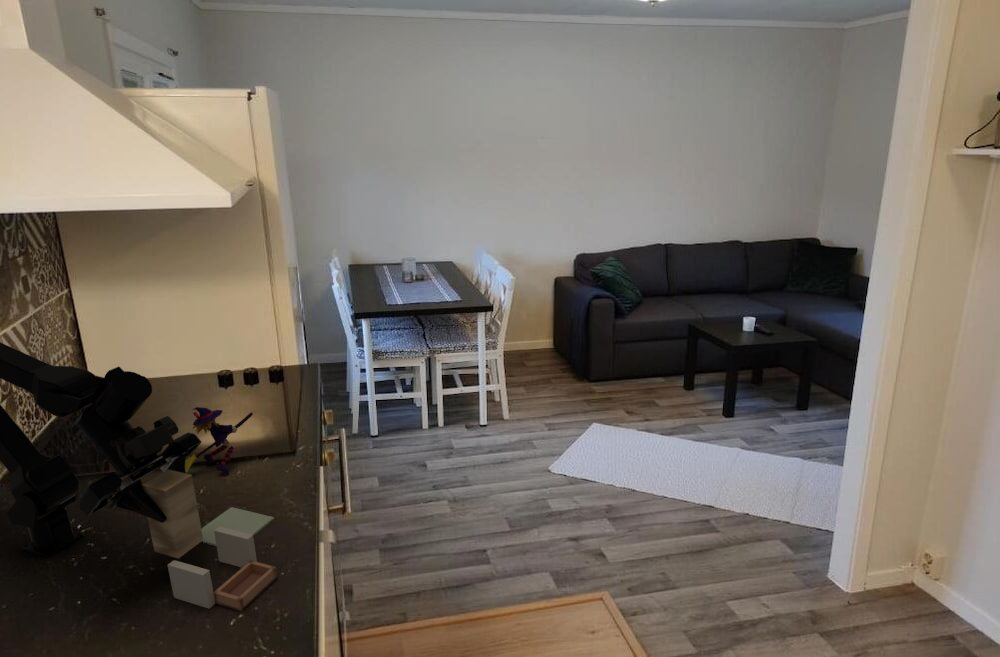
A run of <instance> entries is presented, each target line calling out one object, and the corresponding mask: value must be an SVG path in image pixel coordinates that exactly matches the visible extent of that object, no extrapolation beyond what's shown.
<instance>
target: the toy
mask: <svg viewBox="0 0 1000 657" xmlns="http://www.w3.org/2000/svg"><path fill="white" fill-rule="evenodd" d="M192 410H193V411H194V410H196V411H194V412H192V413H193V415H194V417H195V418H196V419H195V420H194V421H193V423H192V429H195V431H194V432H195V433H196V435H198V434H199V433H200V432H201V431H202V430H203V432H204V434H205V435H207V433H208V432H210V435H211V437H212V439H213V440H214V442H213V443H212V444H211V445H209V446H208V447H206V448H204V449H202V451H200V452H199V453H196V454H195V453H192V455H191V456H190V457H189V458H188V459H187V460H185V471H186V474H188V471H189V469H190V468H191V467H192V465H193V464H194V463H195V462H196V461H198V460H200V458H199V457H201V456H202V455H203V456H202V457H203V459H204V460H205V461H206V462H208V464H210V463H212V464H213V463H214V462H215V460H214V457H215V456H216V455H218V454H220V453H222V452H223V451H225V450H227V451H226V453H225V455H224V457H223V458H222V461H221V463H220V464H218V465H217V467H215V470H217V471H220V472H221V473H224V474H225V473H226V475H229V472H230V470H229V468H227V467H226V466H225V464H226V463H227V462H228V460H229V458H231V455H232V453H234V450H235V448H234V447H233V445H232V444H231V443H230V441H229V440H228V439H227V438H228V436H229V435H231V434H235V433H237V431H238V428H239V427H241V426H242V425H243V424H244V423H245V422H247V421H248V420H249V419H250V418H251V417H253V415H254V412H250V413H248V414H247V415H246V416H245V417H243V418H242V419H241V420H240V421H239V422H237V423H236V424H235V425H233V424H220V423H219V422H218V423H217V422H216V418H218V417H220V416H221V415H222V413H223V411H224V410H222V409H215V410H211V409H209V408H207V407H199V406H196V407H195V408H193V409H192ZM198 413H199V414H198ZM195 433H194V434H195ZM214 446H215V447H216V449H214V450H213V451H212V452H210V453H206V452H207V451H209V450H210V449H212V448H213V447H214Z"/></svg>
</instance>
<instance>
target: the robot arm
mask: <svg viewBox="0 0 1000 657" xmlns="http://www.w3.org/2000/svg"><path fill="white" fill-rule="evenodd" d="M0 379H1V380H2V381H5V382H8V383H10V384H12V385H14V386H15V387H19V389H22V390H25V391H27V392H28V393H29V394H31V395H32V397H33V400H34V402H35V404H36V405H37V406H38V407H40V408H42V409H43V410H45V411H46V412H47V413H49V414H50V415H53V416H54V417H58V418H65V417H67V416H69V415H71V414H73V413H75V412H78V411H81V409H84V408H85V409H84V410H83V412H82V413H81V414H80V415H77V416H74V417H72V419H71V420H72V425H71V428H70V430H71V431H70V432H71V435H72V436H76V435H78V434H81V433H83V434H84V435H85V437H86V438H87V439H88V440H89V442H90V443H92V445H93V446H94V448H96V450H97V451H98V452H99V454H100V455H99V456H98V460H99V461H100V462H101V463H102V464H104V463H106V462H108V464H110V466H111V467H112V468H113V469H114V470H115V472H116V473H117V474H116V473H109V474H107V475H105V476H104V477H101V478H100V479H98V480H96V481H94V482H92V483H90V484H89V485H88V487H87V488H86V490H84V491H85V492H83V494H82V496H81V497H80V498H79V501H78V494H79V485H80V481H79V477H78V476H77V475H76V471H75V470H74V469H73V468H72V467H71V466H70V465H69V464H68V463H67V461H66V459H65V458H64V457H62V456H61V455H59V454H58V455H56V456H54V457H50V456H48V455H45V454H42V453H41V451H39V449H38V448H37V446H35V445H34V443H33V442H32V441H31V439H30V438H29V437H28V436H27V435H26V434H25V433H24V431H23V430H22V429H21V428H20V426H19V425H18V424H17V423H16V422H15V420H14V419H13V418H12V416H11V415H10V414H9V413H8V412H7V410H6V409H5V408H4V407H3V405H2V404H0V462H1V464H2V465H3V466H4V468H6V470H7V471H8V472H9V474H10V492H11V495H12V496H13V498H14V499H15V502H14V503H13V504H12V506H11V507H10V508H9V509H8V511H7V512H6V517H7V518H8V519H9V521H10V523H11V525H15V526H21V527H26V528H27V530H28V533H29V536H30V540H31V541H30V542H27V543H26V544H24V545H23V546H22V549H23V550H24V551H27V552H30V553H33V554H37V555H39V556H42V557H50V556H52V555H53V554H55V553H57V552H59V551H60V550H62V549H63V548H65V547H67V546H69V545H70V544H72V543H73V542H75V541H77V540H78V539H80V538H82V537H83V532H80V531H77V530H73V528H72V523H71V520H70V517H69V514H68V510H67V508H66V507H68V506H70V505H71V504H74V503H76V502H77V501H78V505H79V509H80V510H81V511H82V512H83V514H85V517H91V516H92V515H94V514H95V513H97V512H100V511H101V510H102V509H104V508H106V507H107V505H108V502H109V500H110V502H112V503H111V504H110V505H109V509H110V510H113V509H115V508H119V509H123V510H126V511H130V512H133V513H137V514H139V515H142V516H143V517H147V518H148V517H149V518H151V519H154V520H156V521H159V522H161V523H163V522H165V521H166V520H167V518H166V516H165V515H164V513H163V512H162V510H161V509H160V508H159V507H158V506H157V505H156V504H155V503H154V501H153V500H152V499H151V498H150V497H149V496H148V495H147V494H146V493H145V491H144V489H143V486H142V484H143V483H142V479H143V478H145V477H146V476H148V475H149V474H151V473H154V472H155V471H157V470H161V473H163V472H164V471H166V470H173V471H177V472H181V473H186V471H185V460H187V459H188V458H190V457H192V456H193V454H194V452H195V451H196V450H197V449H198V448H199V446H200V445H201V444H202V440H201V439H200V438H199V437H198V436H197V434H195V433H192V432H186V433H184V434H182V435H180V436H178V437H177V438H175V439H174V438H173V436H174V435H177V434H178V433H179V429H180V428H179V427H178V426H177V424H176V421H174V420H173V419H172V418H171V417H170V416H169V415H166V416H163V417H161V418H159V419H158V420H155V421H153V428H152V429H149V430H147V431H146V430H145V429H144V428H143V427H141V426H140V425H139V426H137V427H135V428H134V426H133V425H132V424H131V423H130V422H129V420H132V419H133V417H134V416H135V415H136V414H137V413H138V411H139V410H140V409H141V408H142V407H143V405H144V404H145V403H146V401H148V399H149V398H150V396H152V393H153V387H152V386H153V385H152V384H151V382H150V380H149V379H148V378H147V377H146V376H144V375H141V374H139V373H138V372H133V371H129V370H127V371H124V369H122V368H121V367H120V366H117V367H114V368H112V369H110V370H108V371H106V374H105V375H104V377H103V376H100V375H96V374H95V373H93V372H91V370H90V371H89V370H86V369H83V368H78V367H76V366H72V365H71V366H69V365H53V364H49V363H48V362H44V361H43V360H40V359H37V358H36V357H33V356H31V355H29V354H27V353H26V352H25V353H24V352H22V351H20V350H18V349H16V348H14V347H12V346H9V345H7V344H5V343H2V341H1V342H0ZM90 405H91V406H90ZM86 407H87V408H86ZM166 445H167V446H166ZM165 446H166V448H165V449H164V447H165ZM162 450H164V451H163V452H162V453H160V452H161V451H162ZM158 453H160V454H158ZM186 474H187V473H186Z"/></svg>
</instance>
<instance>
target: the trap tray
mask: <svg viewBox="0 0 1000 657" xmlns="http://www.w3.org/2000/svg"><path fill="white" fill-rule="evenodd" d="M276 579H278V574H277V567H276V566H273V565H269V564H266V563H262V562H259V561H257V562H255V561H252V560H251V561H250V562H248V563H247V564H246V565H245V566H244V567H243V568H241V567H240V569H239V570H238V571H237V572H235V574H233V575H232V576H231V577H230V578H229V579H228V580H226V581H225V582H224V583H223V584H222V585H221V586H219V587H218V588H217V589H215V591H213V593H214V599H215V604H216V605H219V606H222V607H226V608H229V609H232V610H235V611H239V612H243V611H244V610H245V609H246V608H247V607H248V606H249V605H250V604H251V603H252V602H253V601H254V600H255V599H256V598H258V597H259V596H260V595H261V594H262V593H263V592H264V591H265V590H266V589H267V588H268V587H269V586H270V585H271V584H273V582H274V581H275V580H276ZM215 604H214V605H215Z"/></svg>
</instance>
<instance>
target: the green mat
mask: <svg viewBox="0 0 1000 657" xmlns="http://www.w3.org/2000/svg"><path fill="white" fill-rule="evenodd" d="M274 520H275V517H274V516H269V515H265V514H261V513H257V512H254V511H250V510H249V511H248V510H245V509H241V508H236V507H233V506H231V507H229V508H228V509H227V510H225V511H224V512H222V513H221V514H220V515H218V516H217V517H215V518H214V519H213V520H211V521H210V522H208V523H207V524H206V525H204V526H203V527H201V530H202V536H203V541H201V542H200V543H202V542H203V544H206V543H207V544H206V545H210V546H214V547H217V546H216V540H215V534H214V530H215V529H216V528H218V527H219V526H220V527H224V528H228V529H232V530H235V531H239V532H243V533H247V534H251V535H253V537H255V536H256V535H257V534H258V533H259V532H260V531H261V530H263V529H264V528H265V527H266V526H267V525H269V524H270V523H271V522H272V521H274Z"/></svg>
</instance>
